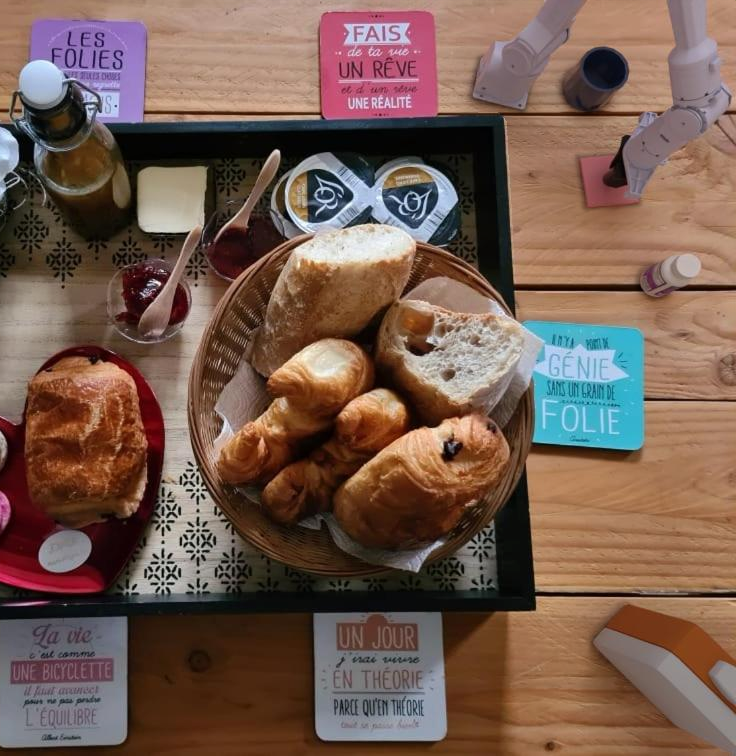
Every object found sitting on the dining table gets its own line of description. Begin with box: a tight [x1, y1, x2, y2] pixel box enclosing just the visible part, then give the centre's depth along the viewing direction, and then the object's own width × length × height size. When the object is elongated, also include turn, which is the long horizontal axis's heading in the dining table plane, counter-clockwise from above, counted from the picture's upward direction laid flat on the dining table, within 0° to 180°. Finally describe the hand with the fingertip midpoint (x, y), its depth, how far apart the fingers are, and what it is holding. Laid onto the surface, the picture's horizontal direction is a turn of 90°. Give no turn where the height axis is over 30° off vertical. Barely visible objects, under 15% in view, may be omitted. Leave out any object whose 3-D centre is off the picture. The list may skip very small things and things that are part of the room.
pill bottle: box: [639, 253, 702, 298], centre depth 121 cm, size 5×5×10 cm
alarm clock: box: [592, 603, 736, 756], centre depth 106 cm, size 18×9×21 cm, turn 45°
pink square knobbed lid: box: [578, 154, 640, 208], centre depth 126 cm, size 9×9×4 cm
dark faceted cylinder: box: [562, 45, 630, 112], centre depth 128 cm, size 8×8×6 cm
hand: (613, 176), depth 126 cm, fingers closed on pink square knobbed lid, 2 cm apart
